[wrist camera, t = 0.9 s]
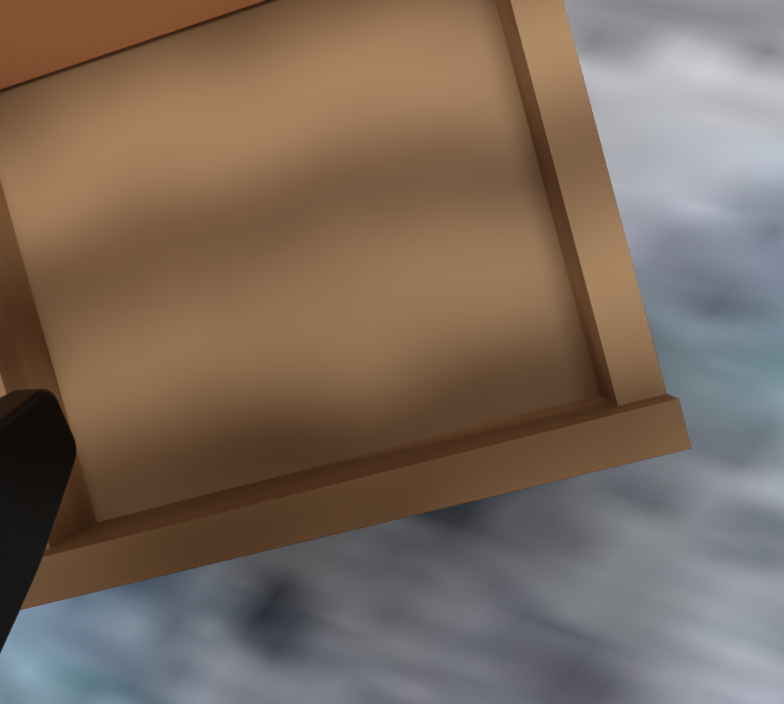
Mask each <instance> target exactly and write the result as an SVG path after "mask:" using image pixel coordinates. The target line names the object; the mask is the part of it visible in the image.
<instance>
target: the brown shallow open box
mask: <svg viewBox="0 0 784 704" xmlns="http://www.w3.org/2000/svg"><path fill="white" fill-rule="evenodd" d="M42 388H44V389H48V390H50V391H52V392H53V393H54V394H55V395H56V397H57V399H58V401H59V403H60V406H61V408H62V410H63V413H64V415H65V417H66V420H67V422H68V424H69V427H70V429H71V431H72V434H73V436H74V439H75V442H76V459H75V463H74V466H73V469H72V472H71V475H70V478H69V481H68V484H67V487H66V490H65V493H64V496H63V499H62V502H61V505H60V508H59V511H58V514H57V517H56V520H55V523H54V526H53V529H52V532H51V535H50V538H49V541H48V544H47V547H46V550H45V552H44V555H43V558H42V560H41V563H40V566H39V568H38V571H37V573H36V576H35V578H34V580H33V583H32V585H31V587H30V589H29V592H28V594H27V596H26V598H25V600H24V603H23V605H22V607H21V609H20V610H22V609H26V608H30V607H35V606H39V605H43V604H47V603H51V602H55V601H60V600H64V599H68V598H72V597H76V596H80V595H84V594H89V593H93V592H97V591H101V590H105V589H109V588H114V587H118V586H122V585H126V584H130V583H134V582H138V581H143V580H147V579H151V578H155V577H159V576H163V575H168V574H172V573H176V572H180V571H184V570H188V569H192V568H197V567H201V566H205V565H209V564H213V563H217V562H222V561H226V560H230V559H234V558H238V557H242V556H246V555H251V554H255V553H259V552H263V551H267V550H271V549H276V548H280V547H284V546H288V545H292V544H296V543H300V542H305V541H309V540H313V539H317V538H321V537H325V536H330V535H334V534H338V533H342V532H346V531H350V530H354V529H359V528H363V527H367V526H371V525H375V524H379V523H384V522H388V521H392V520H396V519H400V518H404V517H408V516H413V515H417V514H421V513H425V512H429V511H433V510H438V509H442V508H446V507H450V506H454V505H458V504H463V503H467V502H471V501H475V500H479V499H483V498H487V497H492V496H496V495H500V494H504V493H508V492H512V491H517V490H521V489H525V488H529V487H533V486H537V485H541V484H546V483H550V482H554V481H558V480H562V479H566V478H571V477H575V476H579V475H583V474H587V473H591V472H595V471H600V470H604V469H608V468H612V467H616V466H620V465H625V464H629V463H633V462H637V461H641V460H645V459H649V458H654V457H658V456H662V455H666V454H670V453H674V452H679V451H683V450H687V449H691V444H690V441H689V437H688V433H687V429H686V425H685V422H684V418H683V414H682V410H681V406H680V403H679V399H678V398H675V397H673V396H671V395H668V394H667V393H666V389H665V385H664V382H663V378H662V374H661V370H660V366H659V363H658V359H657V355H656V351H655V347H654V344H653V340H652V336H651V332H650V329H649V325H648V321H647V317H646V313H645V310H644V306H643V302H642V298H641V294H640V291H639V287H638V283H637V279H636V275H635V272H634V268H633V264H632V260H631V256H630V253H629V249H628V245H627V241H626V238H625V234H624V230H623V226H622V222H621V219H620V215H619V211H618V207H617V203H616V200H615V196H614V192H613V188H612V184H611V181H610V177H609V173H608V169H607V166H606V162H605V158H604V154H603V150H602V147H601V143H600V139H599V135H598V131H597V128H596V124H595V120H594V116H593V112H592V109H591V105H590V101H589V97H588V94H587V90H586V86H585V82H584V78H583V75H582V71H581V67H580V63H579V59H578V56H577V52H576V48H575V44H574V40H573V37H572V33H571V29H570V25H569V21H568V18H567V14H566V10H565V6H564V3H563V0H265V1H262V2H259V3H256V4H253V5H250V6H247V7H244V8H241V9H238V10H235V11H232V12H229V13H226V14H223V15H220V16H217V17H214V18H211V19H209V20H206V21H203V22H200V23H197V24H194V25H191V26H188V27H185V28H182V29H179V30H176V31H173V32H170V33H167V34H164V35H161V36H158V37H155V38H152V39H149V40H146V41H143V42H140V43H137V44H134V45H131V46H128V47H125V48H122V49H119V50H116V51H113V52H110V53H107V54H104V55H101V56H98V57H95V58H93V59H90V60H87V61H84V62H81V63H78V64H75V65H72V66H69V67H66V68H63V69H60V70H57V71H54V72H51V73H48V74H45V75H42V76H39V77H36V78H33V79H30V80H27V81H24V82H21V83H18V84H15V85H12V86H9V87H6V88H3V89H0V397H2V396H4V395H6V394H8V393H10V392H12V391H14V390H18V389H42Z"/></svg>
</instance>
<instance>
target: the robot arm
mask: <svg viewBox="0 0 784 704" xmlns="http://www.w3.org/2000/svg"><path fill="white" fill-rule="evenodd" d="M75 459H76V442H75V439H74V436H73V434H72V431H71V429H70V427H69V424H68V422H67V420H66V417H65V415H64V413H63V410H62V408H61V406H60V403H59V401H58V399H57V397H56V395H55V394H54V393H53V392H52V391H50V390H48V389H44V388H42V389H18V390H14V391H12V392H10V393H8V394H6V395H4V396H2V397H0V653H1V651H2V648H3V646H4V644H5V642H6V640H7V637H8V635H9V633H10V631H11V629H12V627H13V624H14V622H15V620H16V618H17V616H18V613H19V611H20V609H21V607H22V605H23V603H24V600H25V598H26V596H27V594H28V592H29V589H30V587H31V585H32V583H33V580H34V578H35V576H36V573H37V571H38V568H39V566H40V563H41V560H42V558H43V555H44V552H45V550H46V547H47V544H48V541H49V538H50V535H51V532H52V529H53V526H54V523H55V520H56V517H57V514H58V511H59V508H60V505H61V502H62V499H63V496H64V493H65V490H66V487H67V484H68V481H69V478H70V475H71V472H72V469H73V466H74V463H75Z"/></svg>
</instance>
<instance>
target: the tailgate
mask: <svg viewBox="0 0 784 704" xmlns="http://www.w3.org/2000/svg"><path fill="white" fill-rule="evenodd" d="M262 1H265V0H0V89H3V88H6V87H9V86H12V85H15V84H18V83H21V82H24V81H27V80H30V79H33V78H36V77H39V76H42V75H45V74H48V73H51V72H54V71H57V70H60V69H63V68H66V67H69V66H72V65H75V64H78V63H81V62H84V61H87V60H90V59H93V58H95V57H98V56H101V55H104V54H107V53H110V52H113V51H116V50H119V49H122V48H125V47H128V46H131V45H134V44H137V43H140V42H143V41H146V40H149V39H152V38H155V37H158V36H161V35H164V34H167V33H170V32H173V31H176V30H179V29H182V28H185V27H188V26H191V25H194V24H197V23H200V22H203V21H206V20H209V19H211V18H214V17H217V16H220V15H223V14H226V13H229V12H232V11H235V10H238V9H241V8H244V7H247V6H250V5H253V4H256V3H259V2H262Z"/></svg>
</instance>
